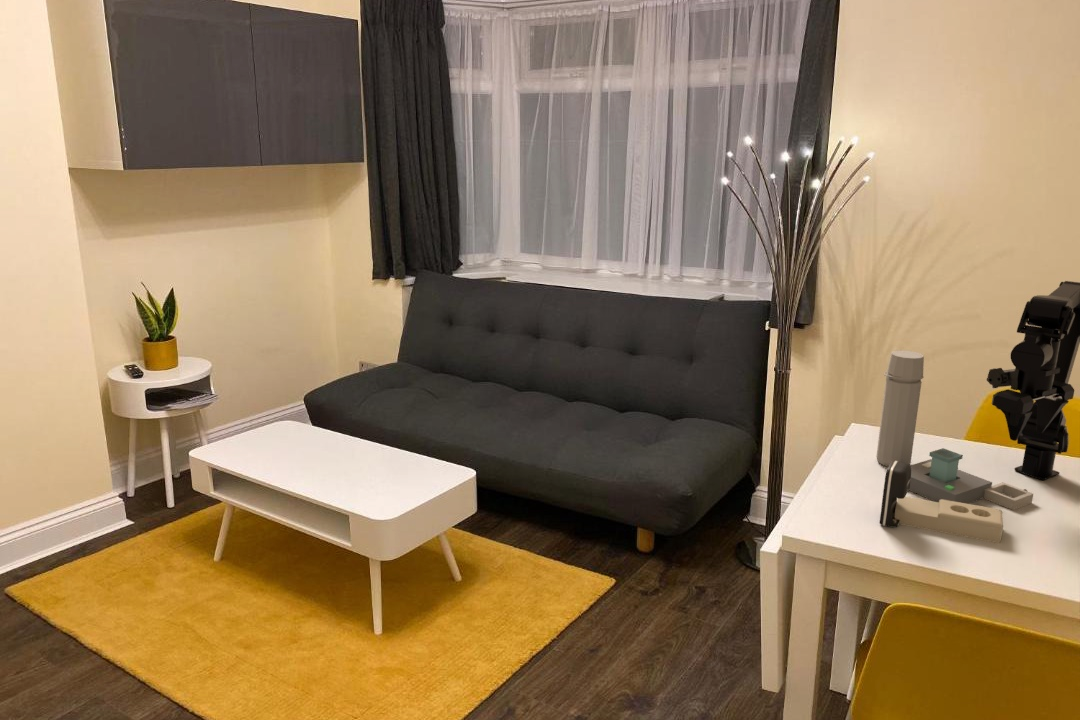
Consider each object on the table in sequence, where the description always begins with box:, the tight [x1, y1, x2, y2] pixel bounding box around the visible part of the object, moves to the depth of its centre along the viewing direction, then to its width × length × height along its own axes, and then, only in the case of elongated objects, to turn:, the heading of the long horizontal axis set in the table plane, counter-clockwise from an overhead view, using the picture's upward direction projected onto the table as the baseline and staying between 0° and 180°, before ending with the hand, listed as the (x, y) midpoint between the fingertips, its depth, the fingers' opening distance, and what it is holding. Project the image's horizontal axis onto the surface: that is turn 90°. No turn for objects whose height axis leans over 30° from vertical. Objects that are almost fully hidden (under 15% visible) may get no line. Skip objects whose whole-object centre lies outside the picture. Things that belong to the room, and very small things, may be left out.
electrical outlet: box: [895, 496, 1004, 544], centre depth 163 cm, size 7×4×18 cm
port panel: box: [908, 458, 993, 504], centre depth 178 cm, size 12×14×3 cm
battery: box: [878, 461, 911, 528], centre depth 162 cm, size 7×4×11 cm, turn 148°
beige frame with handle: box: [983, 482, 1034, 511], centre depth 174 cm, size 9×6×2 cm
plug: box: [928, 447, 963, 483], centre depth 177 cm, size 4×4×8 cm
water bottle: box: [875, 349, 925, 468], centre depth 189 cm, size 9×8×25 cm
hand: (1026, 436), depth 173 cm, fingers open, 9 cm apart
